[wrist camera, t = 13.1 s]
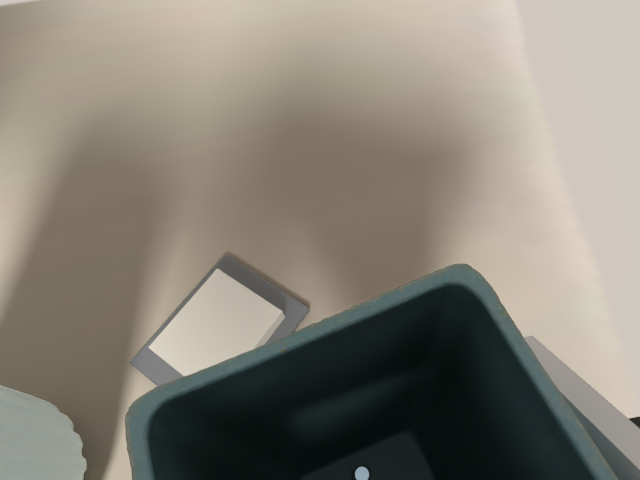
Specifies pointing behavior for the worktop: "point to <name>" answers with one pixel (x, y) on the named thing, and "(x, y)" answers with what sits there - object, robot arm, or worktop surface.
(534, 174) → the worktop surface
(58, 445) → the vase
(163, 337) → the mat with cloth
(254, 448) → the flower pot
